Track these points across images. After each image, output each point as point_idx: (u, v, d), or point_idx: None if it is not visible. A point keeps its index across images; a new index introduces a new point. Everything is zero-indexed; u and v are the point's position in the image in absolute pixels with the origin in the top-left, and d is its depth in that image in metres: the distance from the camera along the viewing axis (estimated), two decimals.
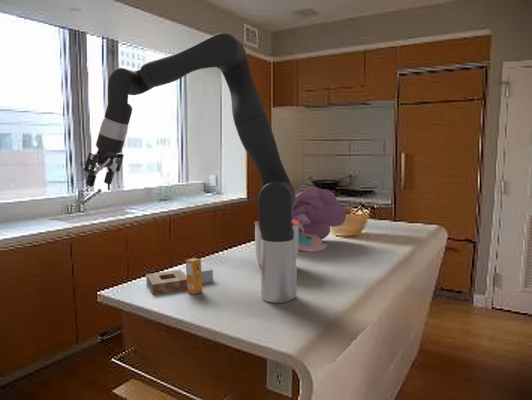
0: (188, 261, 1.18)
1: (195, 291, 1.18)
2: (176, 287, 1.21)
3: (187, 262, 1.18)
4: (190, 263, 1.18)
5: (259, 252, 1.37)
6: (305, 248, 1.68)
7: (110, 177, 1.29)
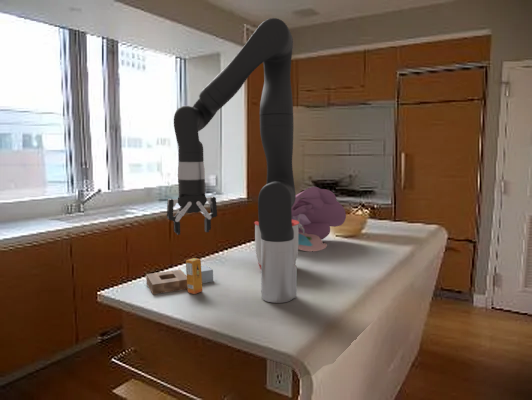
0: (188, 261, 1.18)
1: (195, 291, 1.18)
2: (176, 287, 1.21)
3: (187, 262, 1.18)
4: (190, 263, 1.18)
5: (259, 252, 1.37)
6: (305, 248, 1.68)
7: (206, 224, 1.19)
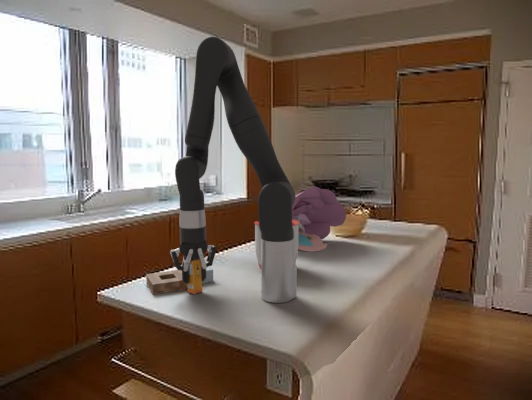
0: None
1: (195, 291, 1.18)
2: (176, 287, 1.21)
3: None
4: (190, 263, 1.18)
5: (259, 252, 1.37)
6: (306, 248, 1.68)
7: None
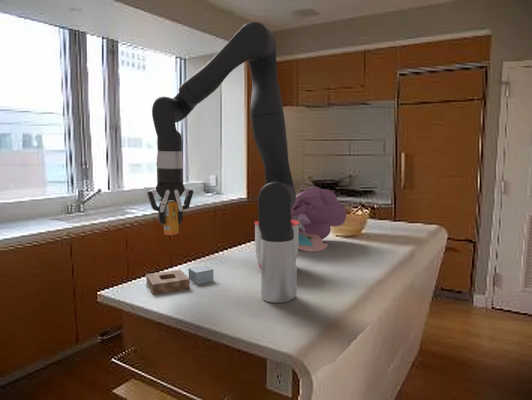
0: None
1: (171, 232, 1.20)
2: (176, 287, 1.21)
3: None
4: (166, 204, 1.20)
5: (259, 252, 1.37)
6: (306, 248, 1.68)
7: (178, 215, 1.22)
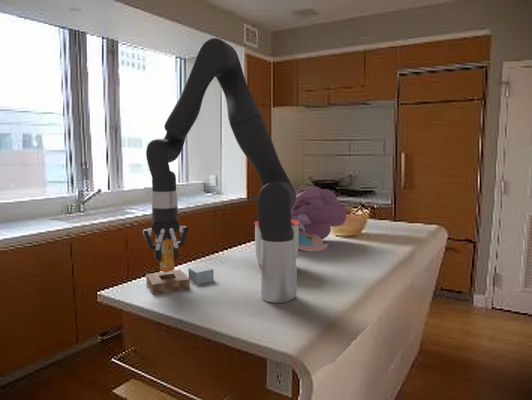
0: None
1: (167, 269, 1.23)
2: (176, 287, 1.21)
3: None
4: (162, 242, 1.23)
5: (259, 252, 1.37)
6: (306, 248, 1.68)
7: (173, 252, 1.25)
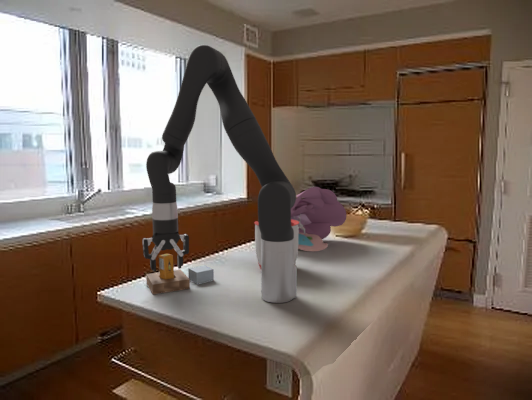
0: (160, 256, 1.24)
1: None
2: (176, 287, 1.21)
3: (160, 257, 1.24)
4: (162, 258, 1.23)
5: (259, 252, 1.37)
6: (307, 248, 1.68)
7: (178, 261, 1.26)
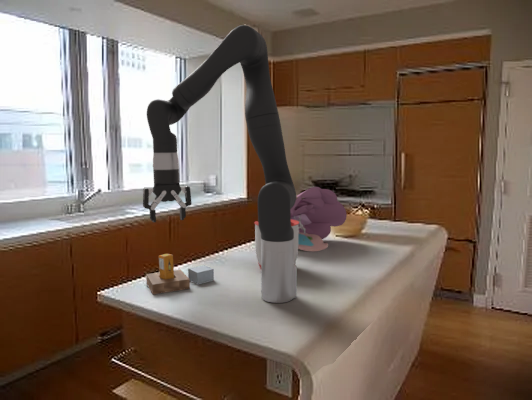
0: (160, 256, 1.24)
1: None
2: (176, 287, 1.21)
3: (160, 257, 1.24)
4: (162, 258, 1.23)
5: (259, 252, 1.37)
6: (307, 248, 1.68)
7: (181, 212, 1.25)
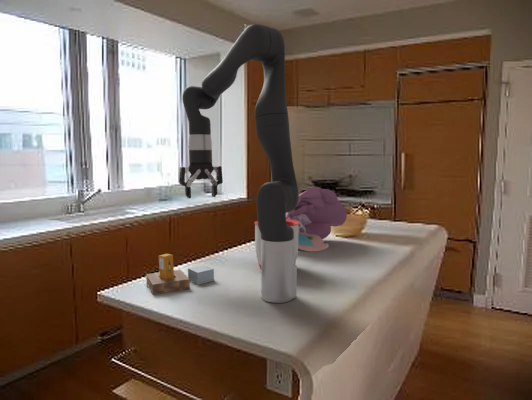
0: (160, 256, 1.24)
1: None
2: (176, 287, 1.21)
3: (160, 257, 1.24)
4: (162, 258, 1.23)
5: (259, 252, 1.37)
6: (307, 248, 1.68)
7: (213, 190, 1.36)
